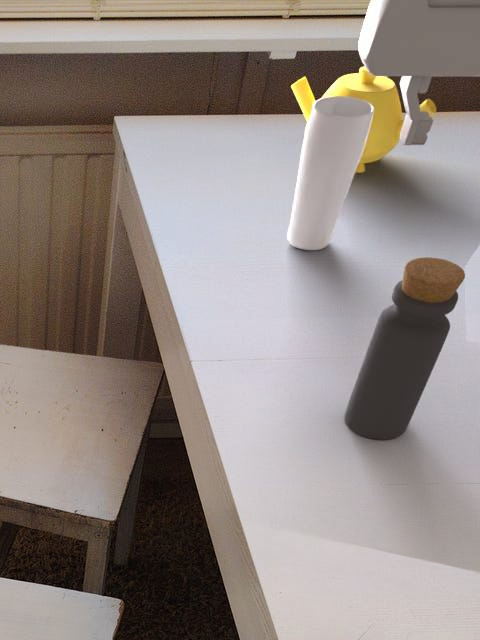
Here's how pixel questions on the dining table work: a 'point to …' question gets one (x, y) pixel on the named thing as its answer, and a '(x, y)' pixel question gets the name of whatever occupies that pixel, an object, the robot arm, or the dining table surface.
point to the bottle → (404, 349)
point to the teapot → (376, 93)
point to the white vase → (327, 168)
